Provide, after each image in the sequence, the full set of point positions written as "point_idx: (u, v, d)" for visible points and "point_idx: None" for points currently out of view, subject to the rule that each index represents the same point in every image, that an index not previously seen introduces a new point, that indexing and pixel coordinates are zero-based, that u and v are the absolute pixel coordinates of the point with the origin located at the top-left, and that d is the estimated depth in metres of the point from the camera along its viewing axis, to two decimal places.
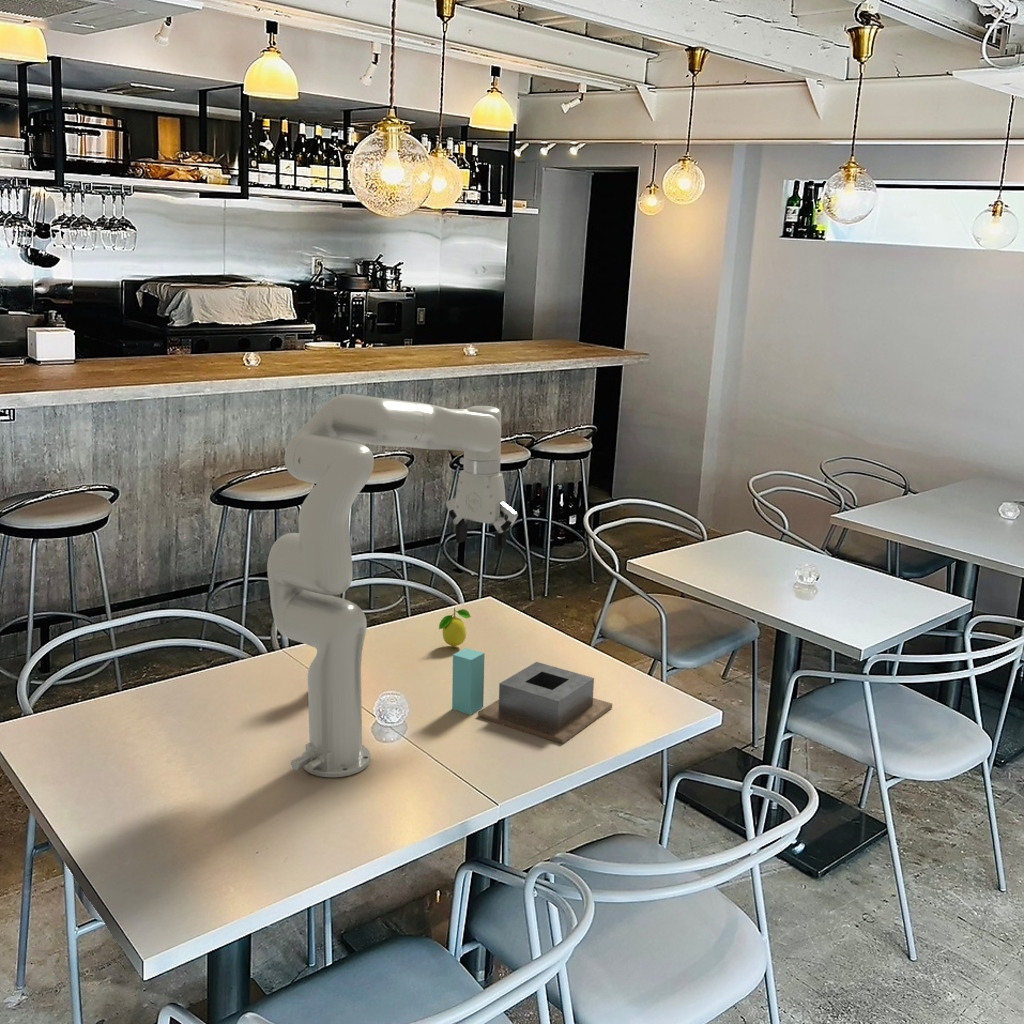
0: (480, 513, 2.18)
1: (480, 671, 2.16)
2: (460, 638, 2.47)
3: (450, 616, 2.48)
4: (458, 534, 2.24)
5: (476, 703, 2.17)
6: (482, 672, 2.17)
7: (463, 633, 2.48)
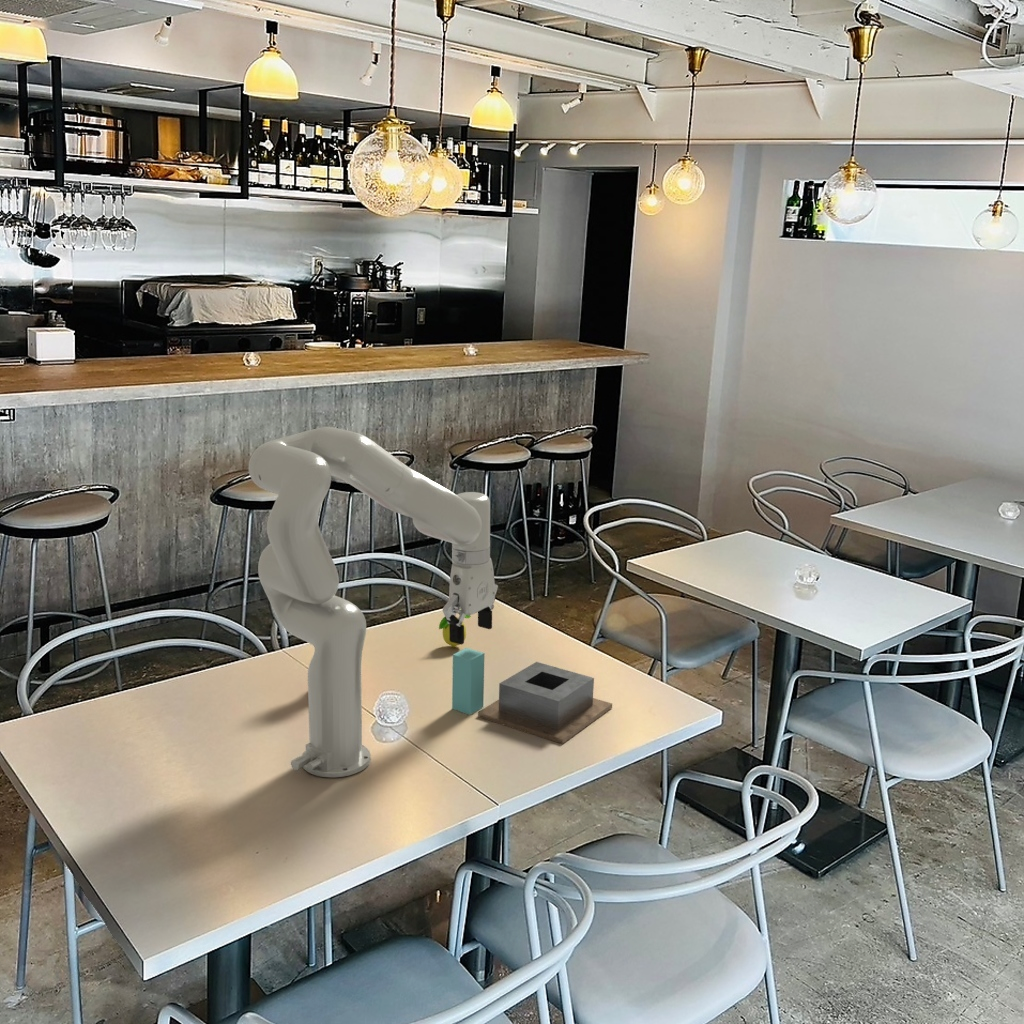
0: (487, 599, 2.13)
1: (480, 671, 2.16)
2: None
3: None
4: (463, 634, 2.10)
5: (476, 703, 2.17)
6: (482, 672, 2.17)
7: None
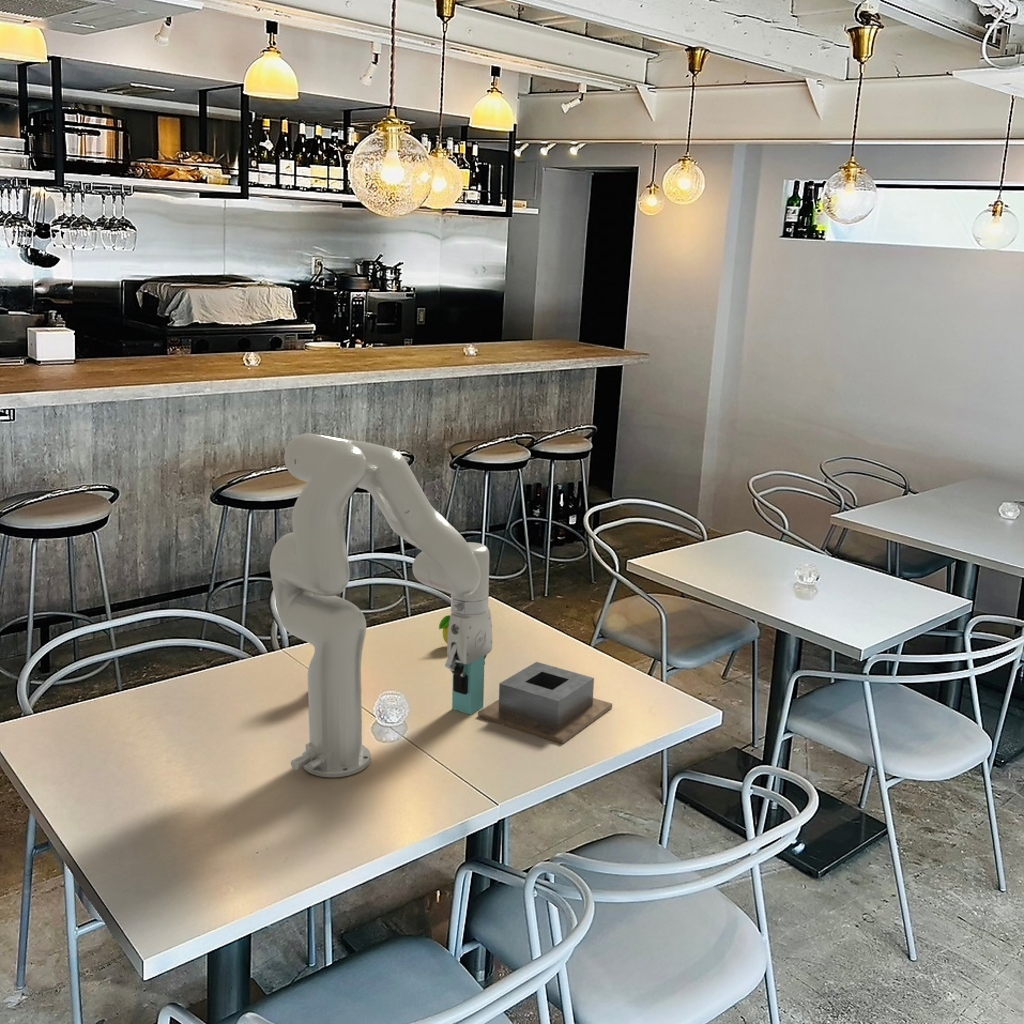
0: (484, 647, 2.15)
1: (481, 671, 2.16)
2: None
3: None
4: (467, 685, 2.14)
5: (476, 702, 2.17)
6: (482, 672, 2.17)
7: None
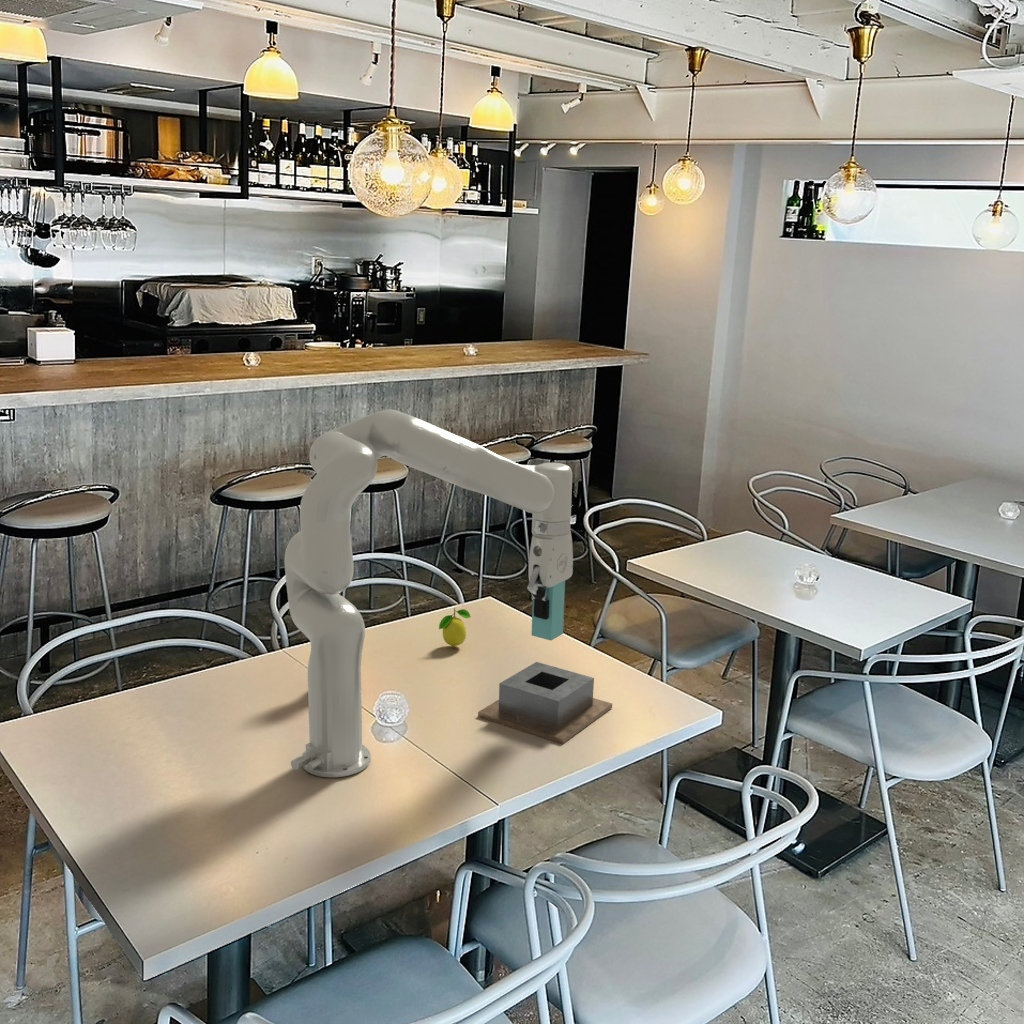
0: (566, 571, 2.10)
1: (561, 596, 2.11)
2: (460, 638, 2.47)
3: (450, 616, 2.48)
4: (548, 609, 2.09)
5: (556, 628, 2.12)
6: (563, 597, 2.12)
7: (463, 633, 2.48)
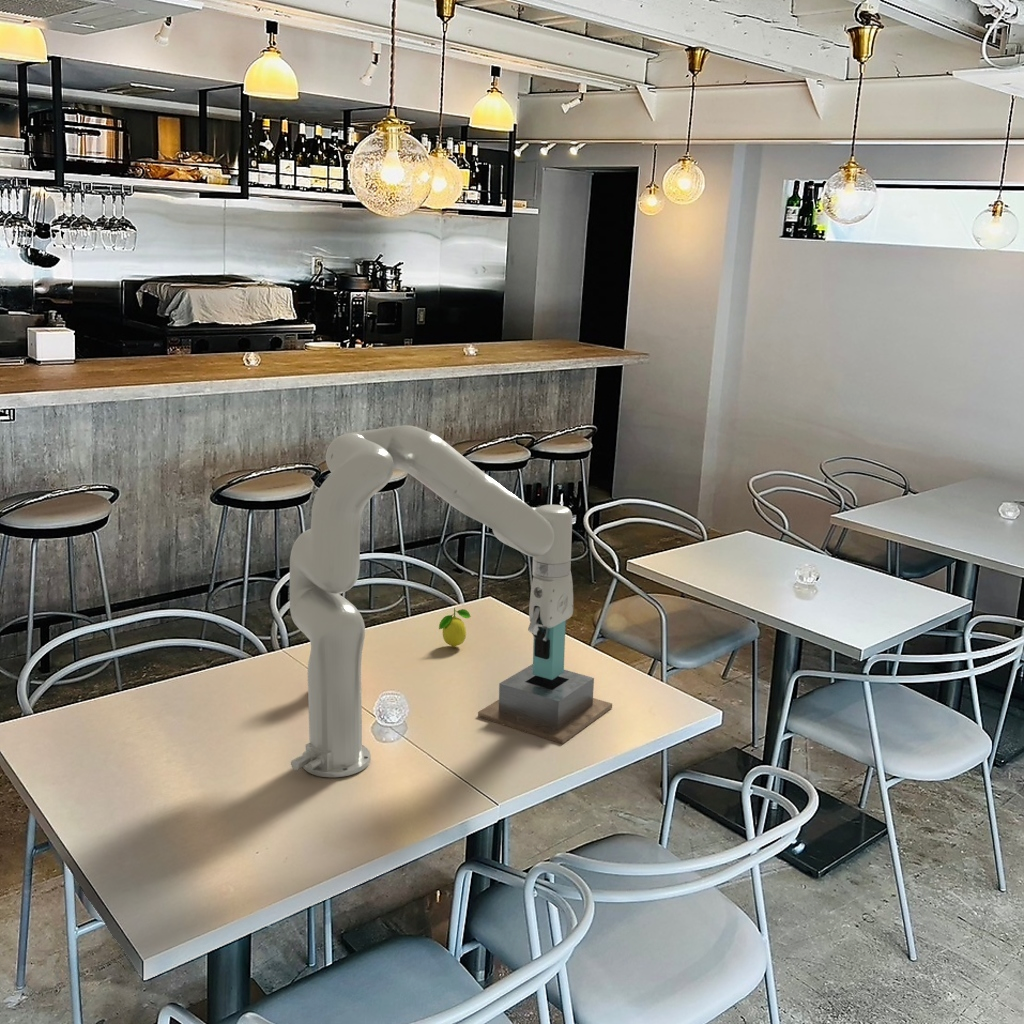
0: (566, 612, 2.12)
1: (562, 636, 2.13)
2: (460, 638, 2.47)
3: (450, 616, 2.48)
4: (549, 649, 2.11)
5: (557, 668, 2.14)
6: (563, 637, 2.14)
7: (463, 633, 2.48)
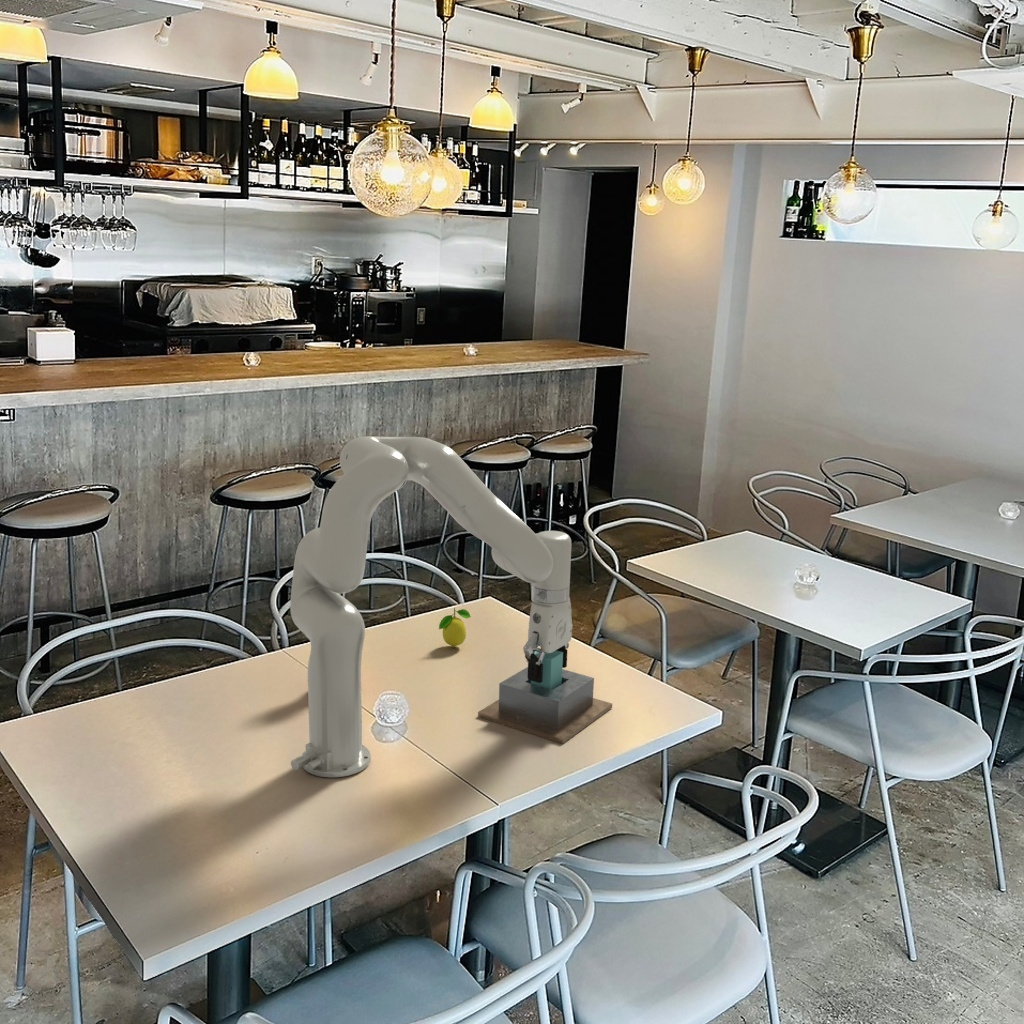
0: (565, 637, 2.13)
1: (559, 671, 2.15)
2: (460, 638, 2.47)
3: (450, 616, 2.48)
4: (542, 673, 2.11)
5: None
6: (560, 671, 2.16)
7: (463, 633, 2.48)
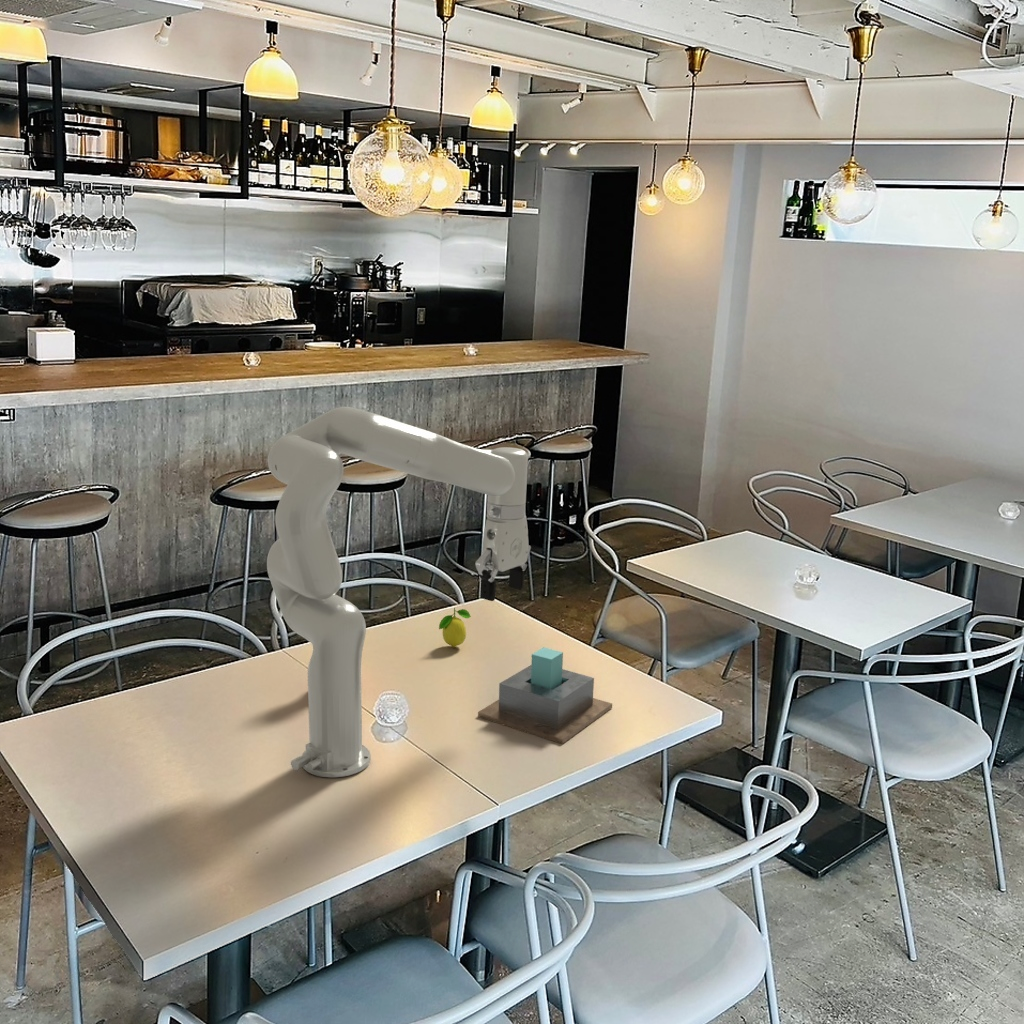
0: (520, 557, 2.10)
1: (559, 671, 2.15)
2: (460, 638, 2.47)
3: (450, 616, 2.48)
4: (494, 591, 2.07)
5: None
6: (560, 671, 2.16)
7: (463, 633, 2.48)
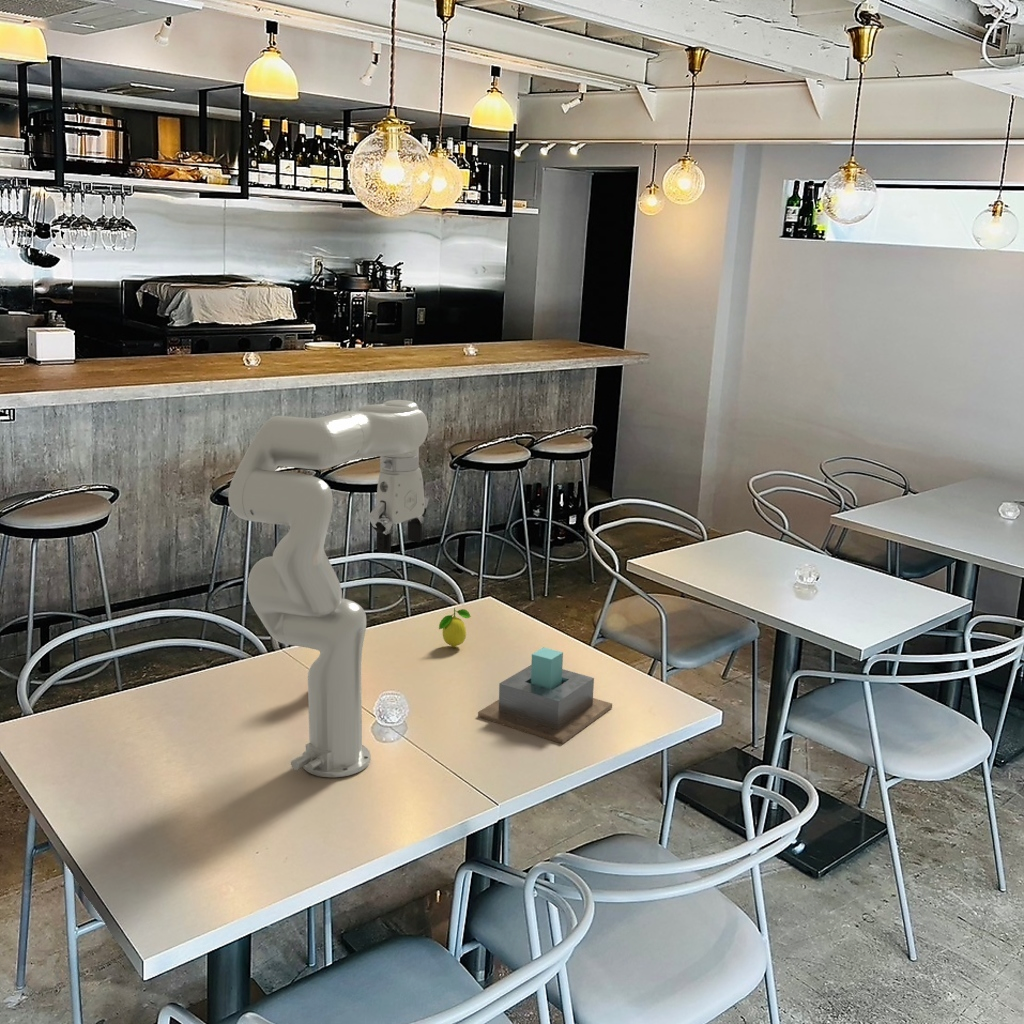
0: (415, 509, 2.11)
1: (559, 671, 2.15)
2: (460, 638, 2.47)
3: (450, 616, 2.48)
4: (390, 543, 2.08)
5: None
6: (560, 671, 2.16)
7: (463, 633, 2.48)
